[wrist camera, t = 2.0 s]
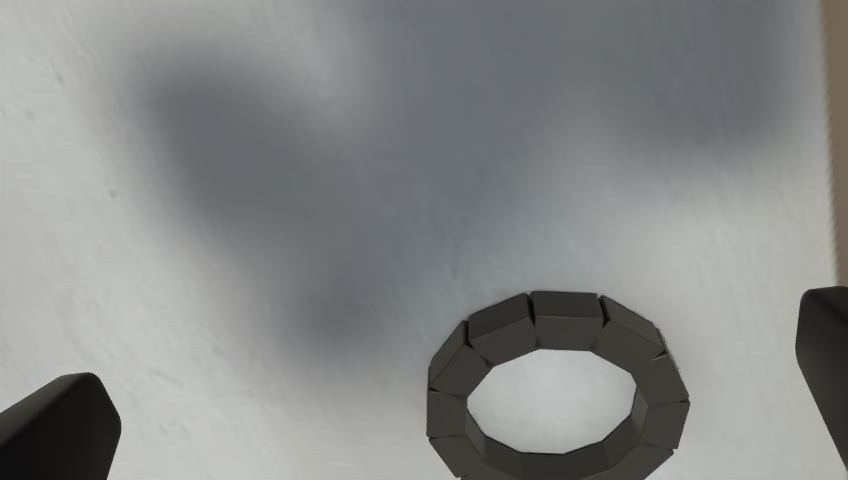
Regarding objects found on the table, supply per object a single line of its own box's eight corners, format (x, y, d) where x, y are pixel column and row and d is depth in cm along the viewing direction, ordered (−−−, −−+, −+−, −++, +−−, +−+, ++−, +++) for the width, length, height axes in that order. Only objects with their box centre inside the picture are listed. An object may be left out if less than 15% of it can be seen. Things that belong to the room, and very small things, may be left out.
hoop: (699, 297, 22) (713, 322, 21) (650, 484, 26) (659, 513, 25) (430, 286, 22) (428, 310, 21) (426, 472, 26) (424, 501, 25)
